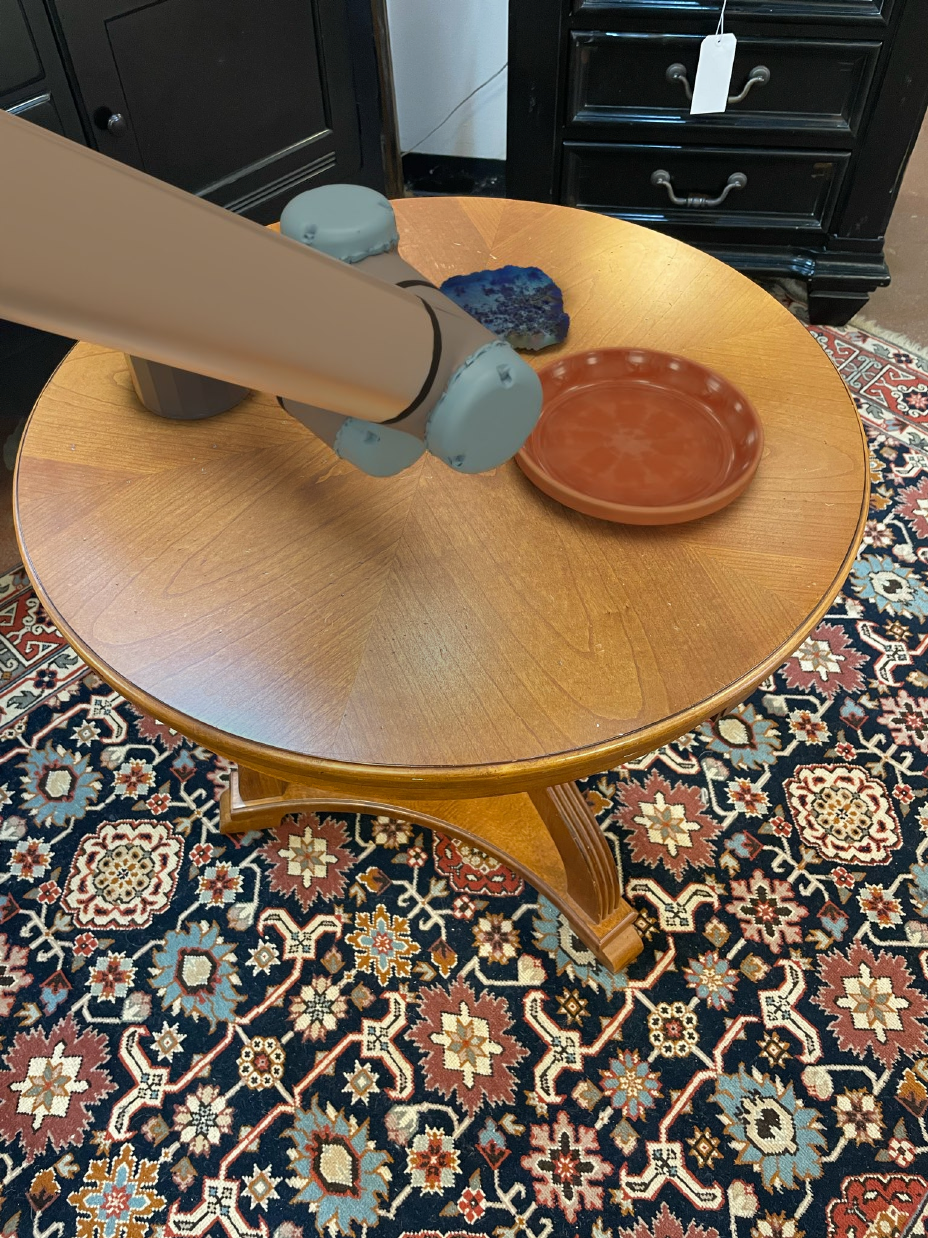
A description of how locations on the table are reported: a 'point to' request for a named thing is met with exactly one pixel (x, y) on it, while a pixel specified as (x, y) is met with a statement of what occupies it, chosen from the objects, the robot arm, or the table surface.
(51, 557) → the table surface
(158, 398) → the pot
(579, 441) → the saucer
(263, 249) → the robot arm
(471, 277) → the rock
